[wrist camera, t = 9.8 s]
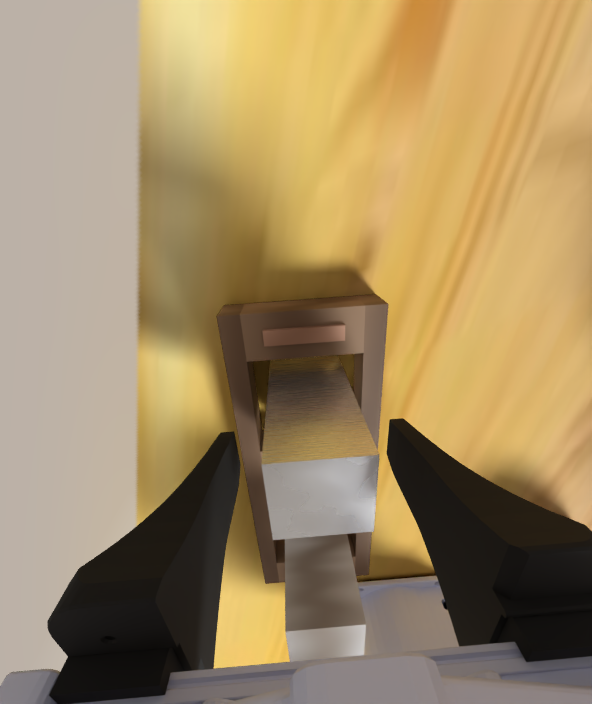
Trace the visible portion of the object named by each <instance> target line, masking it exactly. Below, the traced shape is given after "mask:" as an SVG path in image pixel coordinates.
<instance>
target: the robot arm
mask: <svg viewBox="0 0 592 704" xmlns="http://www.w3.org/2000/svg"><path fill="white" fill-rule="evenodd" d="M387 456H388V459H389V462H390V465H391V468H392V471H393V474H394V476H395V478H396V480H397V483H398V485H399V487H400V489H401V491H402V493H403V495H404V497H405V499H406V501H407V503H408V506H409V508H410V510H411V512H412V514H413V516H414V518H415V520H416V522H417V525H418V527H419V529H420V532H421V534H422V537H423V540H424V542H425V545H426V548H427V550H428V553H429V556H430V559H431V562H432V564H433V567H434V570H435V573H436V576H425V577H413V578H402V579H390V580H379V581H367V582H357V583H358V588H359V593H360V597H361V602H362V607H363V612H364V617H365V621H366V633H365V646H364V655H361V656H349V657H338V658H327V659H316V660H305V661H294V662H283V663H272V664H261V665H250V666H239V667H227V668H216V669H213V667H214V654H215V642H216V631H217V621H218V610H219V600H220V591H221V582H222V573H223V565H224V557H225V549H226V543H227V538H228V533H229V528H230V524H231V519H232V515H233V510H234V505H235V501H236V496H237V491H238V486H239V476H240V460H239V455H238V449H237V444H236V439H235V434H234V432H224V433H220V434H219V435H218V437H217V438H216V440H215V441H214V443H213V444H212V445H211V447H210V448H209V450H208V451H207V452H206V454H205V455H204V456H203V458H202V459H201V460H200V462H199V463H198V464H197V466H196V467H195V468H194V469H193V471H192V472H191V473H190V474H189V475H188V476H187V478H186V479H185V480H184V481H183V482H182V484H181V485H180V486H179V487H178V488H177V489H176V490H175V491H174V492H173V493H172V494H171V495H170V496H169V497H168V498H167V499H166V500H165V502H164V503H162V504H161V505H160V506H159V507H158V508H157V509H156V510H155V511H154V512H153V513H152V514H150V515H149V516H148V517H147V518H146V519H145V520H144V521H143V522H141V523H140V524H139V525H138V526H137V527H135V528H134V529H133V530H132V531H130V532H129V533H128V534H127V535H125V536H124V537H123V538H121V539H120V540H119V541H118V542H116V543H115V544H114V545H112V546H111V547H109V548H108V549H107V550H105V551H104V552H102V553H101V554H100V555H98V556H96V557H95V558H94V559H92V560H91V561H89V562H88V563H86V564H85V565H84V566H82V567H80V568H79V569H78V571H77V572H76V574H75V576H74V577H73V579H72V580H71V582H70V583H69V585H68V587H67V589H66V590H65V592H64V594H63V595H62V597H61V599H60V601H59V603H58V604H57V606H56V608H55V609H54V611H53V613H52V615H51V616H50V618H49V620H48V630H49V633H50V634H51V636H52V638H53V639H54V640H55V641H56V642H57V644H58V645H59V646H60V647H61V648H62V650H63V651H64V652H65V653H66V654H67V656H68V658H67V660H66V662H65V664H64V666H63V668H62V670H61V672H59V671H57V670H53V669H41V670H30V671H19V672H11V673H10V674H8V675H7V676H6V678H5V679H4V681H3V682H2V685H1V686H0V704H592V531H591V530H590V529H589V528H588V527H587V526H585V525H584V524H581V523H579V522H576V521H574V520H571V519H569V518H566V517H564V516H561V515H559V514H556V513H554V512H551V511H549V510H546V509H544V508H542V507H540V506H538V505H535V504H533V503H531V502H529V501H527V500H525V499H522V498H520V497H518V496H516V495H514V494H512V493H510V492H509V491H507V490H505V489H503V488H501V487H499V486H497V485H495V484H494V483H492V482H490V481H488V480H486V479H485V478H483V477H481V476H480V475H478V474H477V473H475V472H473V471H472V470H470V469H468V468H467V467H465V466H464V465H462V464H461V463H459V462H458V461H457V460H455V459H454V458H452V457H451V456H449V455H448V454H447V453H445V452H444V451H443V450H441V449H440V448H439V447H437V446H436V445H435V444H434V443H432V442H431V441H430V440H429V439H427V438H426V437H425V436H424V435H422V434H421V433H420V432H419V431H418V430H416V429H415V428H414V427H413V426H412V425H410V424H409V423H408V422H407V421H405V420H404V419H390V423H389V434H388V445H387Z"/></svg>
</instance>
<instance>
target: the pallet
mask: <svg viewBox="0 0 592 704" xmlns="http://www.w3.org/2000/svg"><path fill="white" fill-rule="evenodd" d="M387 315H388V303H386V302H385V301H384V300H383V299H381V298H380V297H379V296H377V295H376V294H374V295H360V296H346V297H332V298H318V299H304V300H290V301H276V302H262V303H249V304H235V305H224V306H223V308H222V309H221V311H220V312H219V314H218V315H217V321H218V327H219V332H220V338H221V343H222V349H223V354H224V360H225V365H226V371H227V376H228V382H229V387H230V392H231V398H232V403H233V409H234V414H235V420H236V425H237V431H238V436H239V442H240V447H241V452H242V458H243V463H244V469H245V474H246V480H247V485H248V491H249V496H250V502H251V507H252V513H253V518H254V523H255V529H256V534H257V540H258V545H259V551H260V556H261V562H262V567H263V573H264V578H265V584H267V583H278V582H285V621H286V638H287V644H288V651H289V658H290V662H294V661H305V660H316V659H327V658H338V657H349V656H361V655H364V646H365V633H366V621H365V617H364V612H363V607H362V602H361V597H360V593H359V588H358V583H357V578H356V576H360V575H369V563H370V549H371V535H372V532H362V533H350V534H338V535H327V536H315V537H303V538H292V539H280V540H273V537H272V531H271V524H270V518H269V511H268V505H267V498H266V491H265V485H264V478H263V472H262V465H261V463H262V451H263V440H264V430H262V425H261V418H260V410H259V403H258V396H257V389H256V381H255V374H254V367H253V361H264V360H277V359H291V358H304V357H317V356H331V355H344V354H354V385H353V393H354V395H355V398H356V400H357V402H358V405H359V407H360V410H361V412H362V414H363V417H364V419H365V422H366V424H367V426H368V429H369V431H370V434H371V436H372V438H373V441H374V443H375V445H376V448H377V450H378V439H379V425H380V411H381V397H382V384H383V370H384V356H385V342H386V328H387Z"/></svg>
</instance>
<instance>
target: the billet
mask: <svg viewBox="0 0 592 704" xmlns="http://www.w3.org/2000/svg"><path fill="white" fill-rule="evenodd" d="M261 465H262V472H263V478H264V485H265V491H266V498H267V505H268V511H269V518H270V524H271V531H272V537H273V540H280V539H292V538H303V537H315V536H327V535H338V534H350V533H362V532H374V521H375V507H376V494H377V480H378V467H379V453H378V450H377V448H376V445H375V443H374V441H373V438H372V436H371V434H370V431H369V429H368V426H367V424H366V422H365V419H364V417H363V414H362V412H361V410H360V407H359V405H358V402H357V400H356V398H355V395H354V393H353V390H352V388H351V386H350V383H349V381H348V378H347V376H346V374H345V371H344V369H343V366H342V364H341V362H340V359H339V357H338V355H332V356H319V357H306V358H293V359H280V360H270V369H269V381H268V393H267V404H266V416H265V428H264V440H263V451H262V463H261Z"/></svg>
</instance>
